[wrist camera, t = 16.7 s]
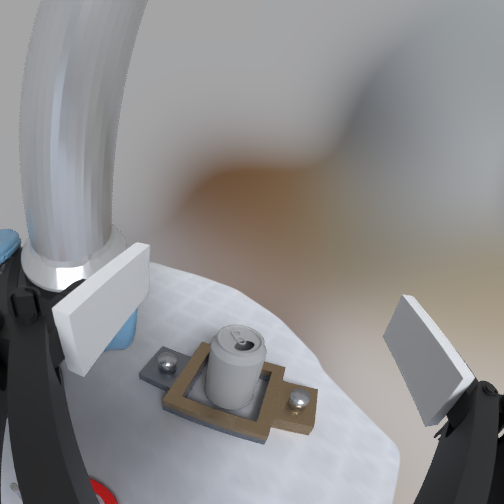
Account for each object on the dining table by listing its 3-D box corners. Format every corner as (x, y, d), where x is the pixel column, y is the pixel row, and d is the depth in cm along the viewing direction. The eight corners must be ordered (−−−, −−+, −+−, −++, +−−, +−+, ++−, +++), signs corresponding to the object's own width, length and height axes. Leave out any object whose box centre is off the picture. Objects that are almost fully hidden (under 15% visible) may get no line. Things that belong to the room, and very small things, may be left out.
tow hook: (83, 468, 20) (36, 501, 12) (53, 412, 16) (-16, 451, 8) (135, 512, 17) (87, 552, 9) (116, 476, 13) (41, 532, 5)
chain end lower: (128, 392, 34) (125, 379, 33) (171, 340, 48) (172, 328, 47) (264, 444, 31) (269, 434, 30) (281, 376, 45) (286, 364, 44)
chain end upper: (162, 409, 33) (161, 391, 32) (201, 351, 47) (203, 334, 46) (305, 453, 30) (316, 439, 28) (314, 384, 44) (322, 368, 42)
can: (219, 419, 34) (231, 363, 30) (196, 384, 39) (202, 326, 35) (261, 402, 38) (281, 347, 34) (235, 372, 44) (248, 316, 40)
